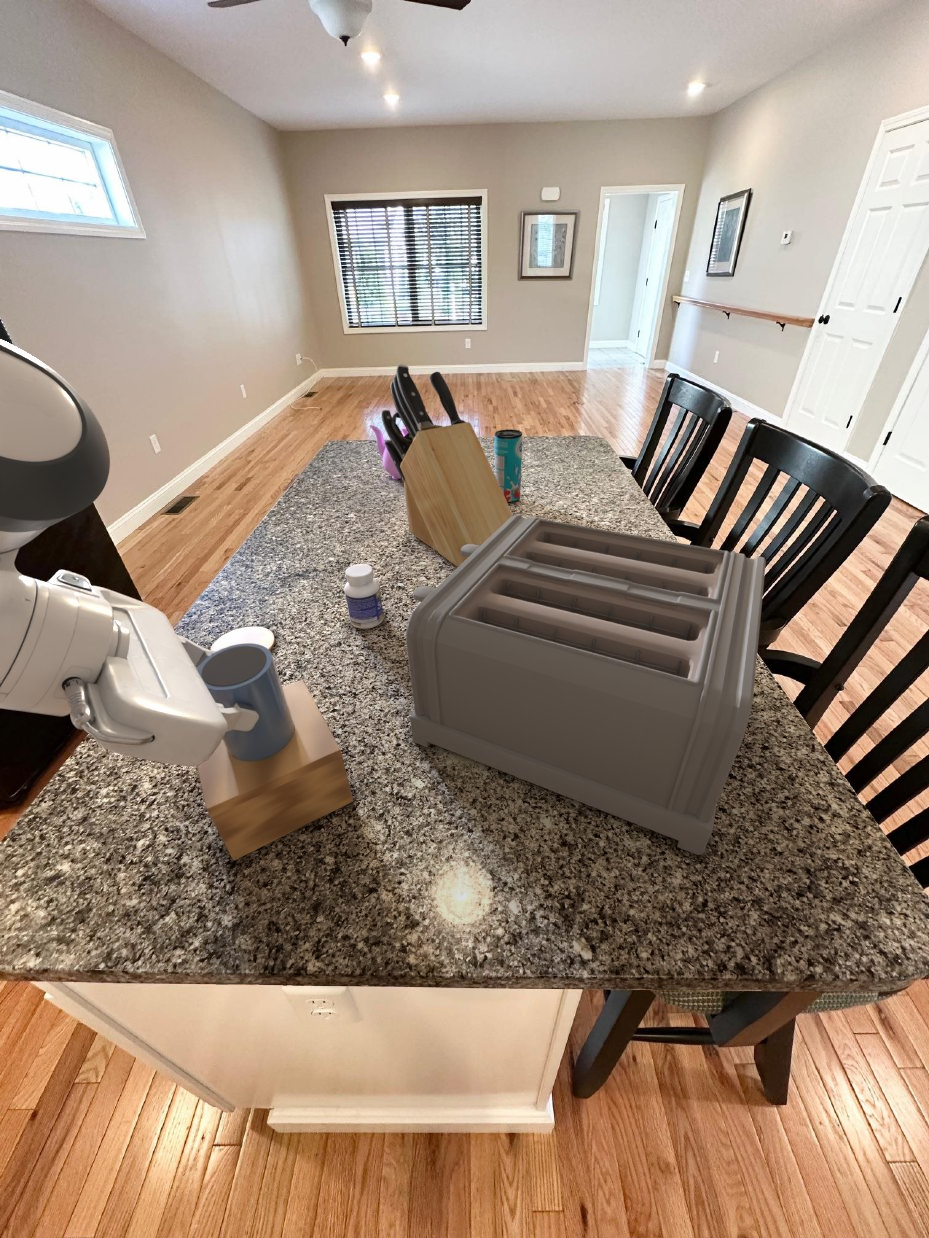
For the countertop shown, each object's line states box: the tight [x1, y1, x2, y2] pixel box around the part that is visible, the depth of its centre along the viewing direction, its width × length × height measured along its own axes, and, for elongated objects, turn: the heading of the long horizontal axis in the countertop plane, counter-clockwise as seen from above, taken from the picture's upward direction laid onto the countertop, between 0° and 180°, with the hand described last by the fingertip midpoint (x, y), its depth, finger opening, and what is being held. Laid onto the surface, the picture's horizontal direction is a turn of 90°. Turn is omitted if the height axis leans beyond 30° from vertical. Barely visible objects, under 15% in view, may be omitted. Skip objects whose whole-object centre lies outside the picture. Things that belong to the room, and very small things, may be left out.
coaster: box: [209, 625, 276, 652], centre depth 75 cm, size 9×9×1 cm
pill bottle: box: [343, 563, 385, 630], centre depth 78 cm, size 5×5×9 cm
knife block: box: [381, 364, 514, 568], centre depth 93 cm, size 11×35×31 cm, turn 33°
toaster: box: [405, 514, 767, 856], centre depth 60 cm, size 31×36×17 cm
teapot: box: [369, 424, 408, 480], centre depth 131 cm, size 20×14×12 cm
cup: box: [196, 643, 295, 761], centre depth 48 cm, size 6×6×9 cm
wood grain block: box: [196, 678, 354, 861], centre depth 53 cm, size 12×12×8 cm
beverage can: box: [494, 428, 523, 505], centre depth 114 cm, size 6×6×15 cm
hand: (234, 689), depth 47 cm, fingers open, 8 cm apart
